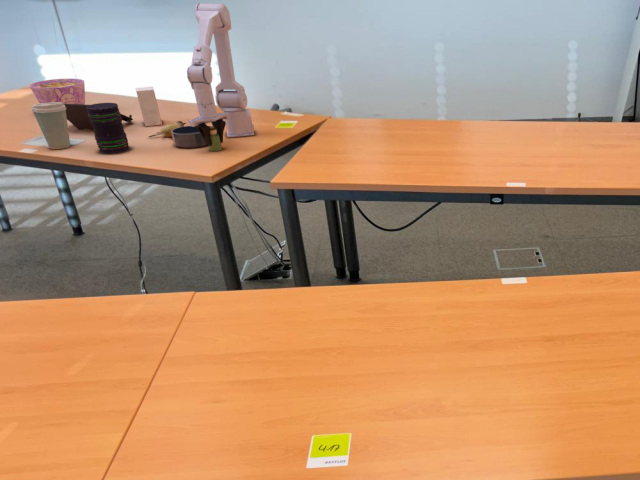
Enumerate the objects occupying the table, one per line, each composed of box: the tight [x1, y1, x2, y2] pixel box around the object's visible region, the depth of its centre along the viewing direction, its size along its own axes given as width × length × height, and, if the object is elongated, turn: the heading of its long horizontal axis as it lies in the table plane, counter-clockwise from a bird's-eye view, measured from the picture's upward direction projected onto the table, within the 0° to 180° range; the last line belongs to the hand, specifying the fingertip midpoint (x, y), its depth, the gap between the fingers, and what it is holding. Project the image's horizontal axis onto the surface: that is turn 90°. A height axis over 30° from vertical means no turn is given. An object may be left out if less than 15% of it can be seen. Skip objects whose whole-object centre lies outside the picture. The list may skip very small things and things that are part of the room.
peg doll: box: [208, 125, 223, 152], centre depth 253 cm, size 4×4×8 cm
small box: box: [135, 86, 163, 127], centre depth 284 cm, size 8×6×13 cm
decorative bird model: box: [148, 120, 187, 140], centre depth 270 cm, size 4×13×10 cm
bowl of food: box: [29, 78, 86, 105], centre depth 300 cm, size 20×20×12 cm
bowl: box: [171, 125, 207, 149], centre depth 261 cm, size 13×13×5 cm
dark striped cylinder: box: [86, 102, 131, 155], centre depth 251 cm, size 10×10×15 cm
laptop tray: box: [64, 104, 134, 131], centre depth 279 cm, size 23×23×9 cm
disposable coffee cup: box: [30, 102, 71, 150], centre depth 254 cm, size 11×11×15 cm
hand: (214, 143), depth 255 cm, fingers closed on peg doll, 4 cm apart
